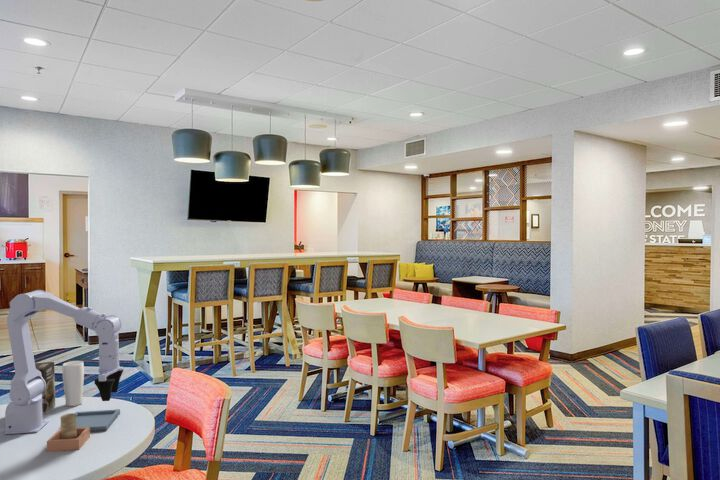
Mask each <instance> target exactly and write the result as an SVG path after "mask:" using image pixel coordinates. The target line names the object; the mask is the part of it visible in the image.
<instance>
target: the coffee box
mask: <svg viewBox="0 0 720 480" xmlns="http://www.w3.org/2000/svg"><path fill="white" fill-rule="evenodd" d="M35 367H36V369H37V370H39V371H40V372H41V374H42V377H43V379H44V380H45V382H46V389H45V391H44V392H43V393H42V416H45V415H46V414H47V413H49V412H50V411H51V410H52V409H53V408H54V407H56V377H55V376H56V375H55V362H54V361H46V362H45V361H44V362H35Z"/></svg>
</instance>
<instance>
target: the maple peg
mask: <svg viewBox="0 0 720 480" xmlns="http://www.w3.org/2000/svg"><path fill="white" fill-rule="evenodd" d="M60 427H61V439H75V438H77V430H76V414H75V413H66V414H63V415H61V416H60Z"/></svg>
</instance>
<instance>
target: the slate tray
mask: <svg viewBox="0 0 720 480" xmlns="http://www.w3.org/2000/svg"><path fill="white" fill-rule="evenodd" d="M74 414H76V428H83V427H90V433H92V432H93V433H94V432H106V431H108V430H109V428H111V426H112V425H113V423H114V422H115V420H116V419H117V418H118V417H119V416H120V414H121V409H119V408H117V409H102V410H87V411H86V410H85V411H83V410H82V411H75V412H74ZM118 415H119V416H118ZM59 429H61V426H60V427H59ZM59 429H58V430H59Z"/></svg>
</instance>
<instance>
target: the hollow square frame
mask: <svg viewBox="0 0 720 480" xmlns="http://www.w3.org/2000/svg"><path fill="white" fill-rule="evenodd" d="M76 430H77V438H75V439H61V429H58V430H57V431H56V432H55V433H54V434H53V435H52V436H51V437H50V438H48V440H46V451H47V452H48V453H49V452H63V451H75V450H80V449H81V448H82V446H84V444H85V443H86V442H87V441H88V439H89V438H90V437H91V432H90V427H83V428H76ZM47 452H46V453H47Z"/></svg>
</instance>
